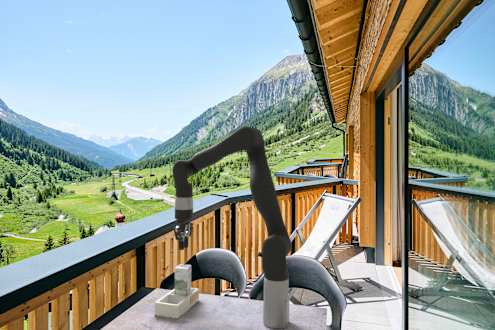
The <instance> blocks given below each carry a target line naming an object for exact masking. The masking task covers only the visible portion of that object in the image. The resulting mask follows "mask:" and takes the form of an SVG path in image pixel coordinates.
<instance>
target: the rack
mask: <svg viewBox="0 0 495 330" xmlns="http://www.w3.org/2000/svg"><path fill="white" fill-rule="evenodd" d="M199 297H200V289H199V288H198V287H191V293H190V294H189V295H188V296H184V295H177V294H175V287H174V288H173V289H172V290H170V291H169V292H167V293H166V294H164V295H163V296H161V298H159V299H158V300H156V301H155V302H154V316H156V315H157V316H158V317H162V316H163V318H169V317H171V318H170V319H175V318H178V319H180V318H181V317H182V316H183V315H184V314H185V313H186V312H187V311H189V309H191V308H192V307H193V306H194V305H195V304H196V303H198V302H199V301H200V300H199V299H200V298H199ZM182 314H183V315H182ZM181 315H182V316H181ZM180 316H181V317H180ZM179 317H180V318H179Z"/></svg>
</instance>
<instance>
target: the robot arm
mask: <svg viewBox="0 0 495 330" xmlns="http://www.w3.org/2000/svg"><path fill="white" fill-rule="evenodd" d="M243 151H245V152H246V156H247V158H248V161H249V162H248V163H249V189H250V193H251V197H252V201H253V203H254V206H255V207H256V210H257V211H258V213H259V214H260V216H261V217H262V219H263V221H264V224H265V226H266V231H267V236H268V237H266V238H265V239H264V241H263V243H262V247H261V257H262V258H261V266H262V272H263V305H262V306H263V310H262V312H263V313H262V319H263V320H262V322H263V325H264V326H265V327H267V328H270V329H286V328H288V325H289V322H290V296H289V285H290V283H289V281H290V279H289V278H290V277H289V276H290V271H289V270H288V268H287V256H288V255H289V254H290V253H291V250H292V241H291V238H290V236H289V235H290V234H289V232H288V229H287V227H286V224H285V222H284V219H283V215H282V214H283V213H282V212H281V211H282V210H281V207H280V203H279V200H278V199H279V198H278V194H277V190H276V187H275V183H274V180H273V177H272V172H271V169H270V166H269V162H268V158H267V153H266V148H265V141H264V137H263V134H262V132H261V131H260V130H259V129H258V128H256V127H252V126H241V127H240V128H238V129H237V130H235V131H233V132H232V133H231V134H230V135H228V136H227V137H225V138H224V139H222V140H221V141H218V142H217V143H215V144H214V145H211V146H209V147H208V148H205V149H203V150H201V151H199V152H196V153H195V154H194V155H193V156H192V158H190V159H179V160H178V159H177V160H176V161H175V162H174V163H173V165H172V170H171V171H172V176H173V181H174V185H175V199H174V200H175V201H174V220H177V224H176V226H175V227H173V233H174V238H175V240H176V241H177V242H178V251H179V250H180V251H184V250H185V249H188V248H189V239H190V237H192V233H193V226H194V222H192V221H191V220H193V218H194V199H193V194H194V193H193V191H194V186H193V184H192V183H190V182H189V179H188V177H192V176H194V175H197V174H198V173H199V172H201V171H202V170H204V169H206V168H209V167H212V166H214V165H216V164H217V163H219V162H220V161H221V160H223V159H224V158H226V157H228V156H230V155H231V154H235V153H238V152H243Z"/></svg>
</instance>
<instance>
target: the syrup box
mask: <svg viewBox="0 0 495 330" xmlns="http://www.w3.org/2000/svg"><path fill="white" fill-rule="evenodd" d="M174 288H175V294H177V295H184V296H188V295H189V294H190V293H191V288H192V265H191V264H181V263H179V264H177V265H176V266H175V267H174Z"/></svg>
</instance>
